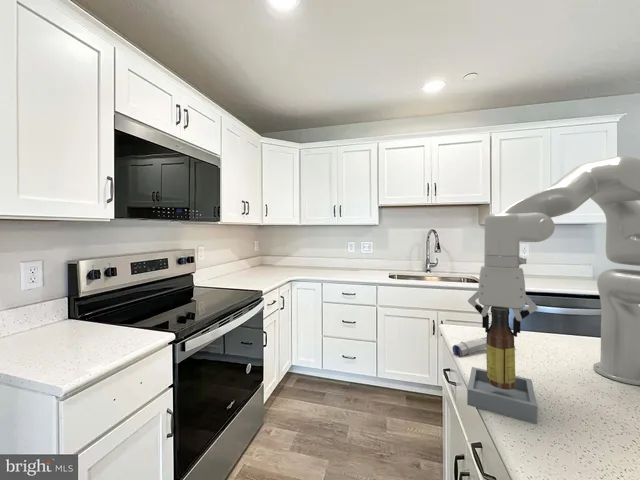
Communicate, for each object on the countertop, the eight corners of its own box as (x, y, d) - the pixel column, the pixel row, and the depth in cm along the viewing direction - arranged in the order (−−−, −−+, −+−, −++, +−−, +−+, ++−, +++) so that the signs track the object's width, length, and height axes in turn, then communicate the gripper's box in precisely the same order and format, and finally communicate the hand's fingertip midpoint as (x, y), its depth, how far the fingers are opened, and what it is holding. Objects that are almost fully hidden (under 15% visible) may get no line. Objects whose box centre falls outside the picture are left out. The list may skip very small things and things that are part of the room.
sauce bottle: (510, 380, 77) (513, 305, 76) (518, 393, 71) (521, 312, 70) (482, 376, 79) (485, 303, 78) (487, 388, 73) (490, 309, 72)
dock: (531, 394, 77) (531, 379, 77) (537, 424, 65) (537, 406, 65) (471, 380, 84) (471, 366, 84) (467, 405, 73) (467, 389, 72)
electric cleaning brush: (450, 342, 104) (503, 325, 111) (452, 360, 104) (505, 342, 112) (461, 347, 99) (516, 330, 106) (463, 366, 99) (518, 347, 107)
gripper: (541, 262, 73) (540, 334, 73) (465, 259, 82) (464, 323, 82) (545, 265, 66) (544, 344, 67) (462, 262, 75) (462, 331, 76)
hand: (500, 332), depth 74 cm, fingers closed on sauce bottle, 5 cm apart
